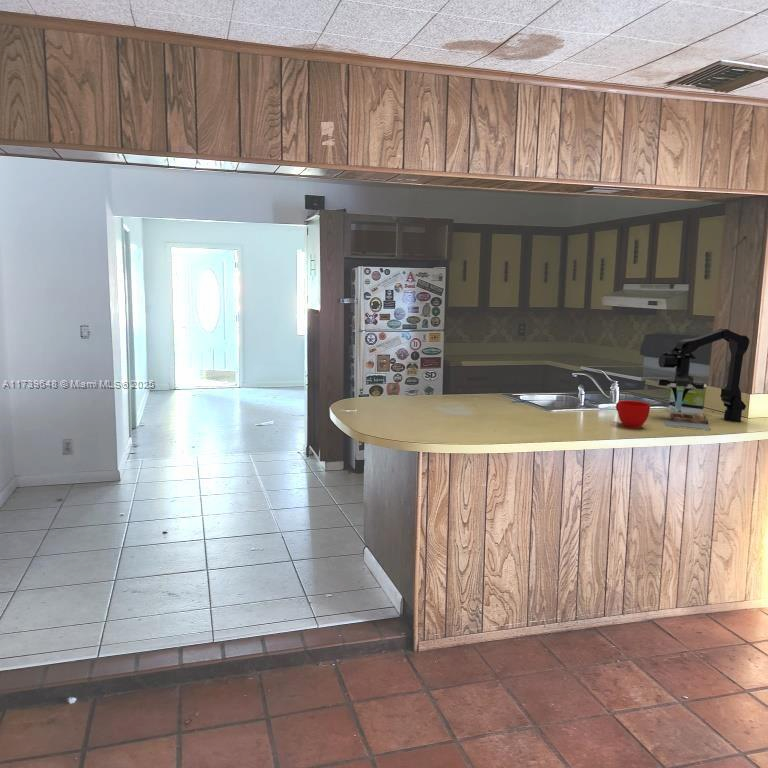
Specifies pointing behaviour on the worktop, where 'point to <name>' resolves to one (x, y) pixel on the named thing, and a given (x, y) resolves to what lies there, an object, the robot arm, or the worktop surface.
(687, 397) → the tea box
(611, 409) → the worktop surface
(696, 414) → the offcut upper
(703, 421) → the tray
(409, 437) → the worktop surface
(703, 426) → the mat
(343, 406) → the worktop surface
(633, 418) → the ceramic cup
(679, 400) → the teal flat block
